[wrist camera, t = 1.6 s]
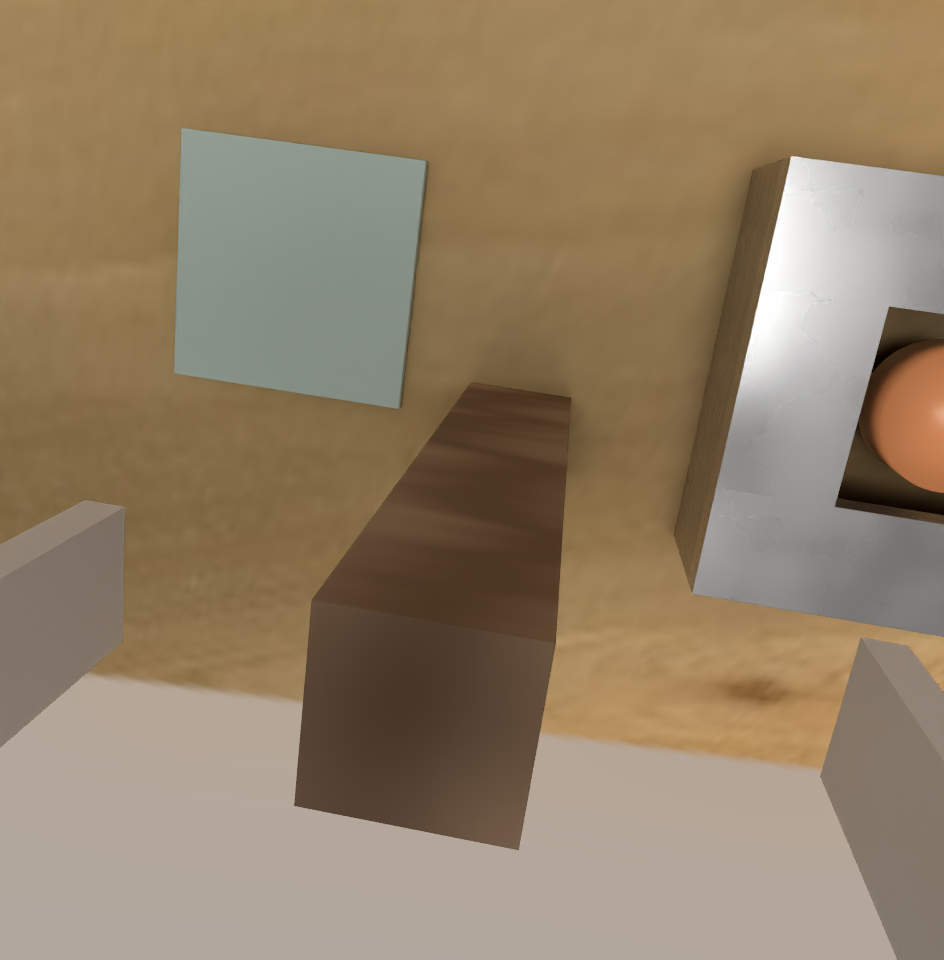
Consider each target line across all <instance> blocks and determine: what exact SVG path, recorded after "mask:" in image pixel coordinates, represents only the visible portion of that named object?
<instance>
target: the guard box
mask: <svg viewBox="0 0 944 960" xmlns="http://www.w3.org/2000/svg"><path fill="white" fill-rule="evenodd" d="M889 306H890V307H897V308H904V309H911V310H918V311H925V312H932V313H939V314H944V176H940V175H932V174H924V173H917V172H909V171H901V170H893V169H886V168H878V167H870V166H862V165H855V164H847V163H839V162H831V161H824V160H816V159H808V158H801V157H793V156H791V157H788V158H786V159H783V160H780V161H777V162H774V163H772V164H769V165H766V166H763V167H761V168H758V169H755V170H753V173H752V178H751V182H750V187H749V192H748V196H747V201H746V205H745V210H744V215H743V219H742V224H741V229H740V233H739V238H738V243H737V247H736V252H735V256H734V261H733V266H732V270H731V275H730V280H729V284H728V289H727V293H726V298H725V303H724V307H723V312H722V317H721V321H720V326H719V331H718V335H717V340H716V344H715V349H714V354H713V358H712V363H711V368H710V372H709V377H708V381H707V386H706V391H705V395H704V400H703V405H702V409H701V414H700V419H699V423H698V428H697V432H696V437H695V442H694V446H693V451H692V456H691V460H690V465H689V470H688V474H687V479H686V483H685V488H684V493H683V497H682V502H681V507H680V511H679V516H678V520H677V525H676V530H675V534H674V536H675V540H676V543H677V546H678V549H679V553H680V556H681V559H682V562H683V566H684V569H685V572H686V576H687V579H688V582H689V585H690V589H691V592H692V594H696V595H702V596H708V597H714V598H720V599H726V600H732V601H737V602H743V603H749V604H755V605H761V606H767V607H773V608H778V609H784V610H790V611H796V612H802V613H808V614H814V615H819V616H825V617H831V618H837V619H843V620H849V621H855V622H860V623H866V624H872V625H878V626H884V627H890V628H896V629H901V630H907V631H913V632H919V633H925V634H931V635H936V636H942V637H944V515H939V514H932V513H926V512H920V511H914V510H907V509H901V508H895V507H889V506H882V505H876V504H870V503H864V502H857V501H851V500H845V499H838V498H837V496H838V493H839V489H840V485H841V482H842V478H843V474H844V471H845V467H846V463H847V459H848V456H849V452H850V448H851V445H852V441H853V437H854V434H855V430H856V426H857V423H858V419H859V415H860V412H861V408H862V404H863V401H864V397H865V393H866V390H867V386H868V382H869V379H870V375H871V371H872V368H873V364H874V360H875V356H876V353H877V349H878V345H879V342H880V338H881V334H882V331H883V327H884V323H885V320H886V316H887V312H888V309H889Z"/></svg>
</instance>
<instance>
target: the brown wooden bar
mask: <svg viewBox="0 0 944 960" xmlns="http://www.w3.org/2000/svg"><path fill="white" fill-rule="evenodd" d="M570 404H571V398H568V397H562V396H555V395H549V394H542V393H536V392H529V391H523V390H516V389H510V388H503V387H497V386H490V385H484V384H477V383H471V384H470V385H469V386H468V388H467V389H466V390H465V392H464V393H463V394H462V396H461V397H460V399H459V400H458V401H457V403H456V404H455V405H454V407H453V408H452V410H451V411H450V412H449V414H448V415H447V416H446V418H445V419H444V420H443V422H442V423H441V425H440V426H439V427H438V429H437V430H436V431H435V433H434V434H433V435H432V437H431V438H430V440H429V441H428V442H427V444H426V445H425V446H424V448H423V449H422V450H421V452H420V453H419V455H418V456H417V457H416V459H415V460H414V461H413V463H412V464H411V465H410V467H409V468H408V470H407V471H406V472H405V474H404V475H403V476H402V478H401V479H400V480H399V482H398V483H397V485H396V486H395V487H394V489H393V490H392V491H391V493H390V494H389V495H388V497H387V498H386V500H385V501H384V502H383V504H382V505H381V506H380V508H379V509H378V510H377V512H376V513H375V515H374V516H373V517H372V519H371V520H370V521H369V523H368V524H367V525H366V527H365V528H364V530H363V531H362V532H361V534H360V535H359V536H358V538H357V539H356V540H355V542H354V543H353V545H352V546H351V547H350V549H349V550H348V551H347V553H346V554H345V555H344V557H343V558H342V560H341V561H340V562H339V564H338V565H337V566H336V568H335V569H334V570H333V572H332V573H331V575H330V576H329V577H328V579H327V580H326V581H325V583H324V584H323V585H322V587H321V588H320V590H319V591H318V592H317V594H316V595H315V596H314V598H313V599H312V604H311V616H310V628H309V639H308V651H307V663H306V675H305V686H304V698H303V710H302V722H301V734H300V745H299V757H298V769H297V781H296V793H295V804H294V806H298V807H303V808H308V809H314V810H319V811H323V812H329V813H333V814H338V815H343V816H349V817H354V818H359V819H364V820H369V821H374V822H379V823H384V824H389V825H394V826H400V827H404V828H409V829H415V830H420V831H425V832H430V833H435V834H440V835H445V836H450V837H455V838H460V839H465V840H470V841H475V842H480V843H485V844H491V845H495V846H500V847H506V848H511V849H516V850H519V845H520V839H521V834H522V828H523V822H524V816H525V811H526V806H527V800H528V795H529V789H530V783H531V778H532V772H533V767H534V761H535V756H536V750H537V744H538V739H539V733H540V728H541V722H542V717H543V711H544V705H545V700H546V694H547V689H548V683H549V678H550V672H551V666H552V661H553V655H554V650H555V644H556V630H557V614H558V598H559V581H560V565H561V549H562V533H563V517H564V501H565V485H566V469H567V452H568V436H569V420H570Z"/></svg>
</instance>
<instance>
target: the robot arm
mask: <svg viewBox="0 0 944 960" xmlns="http://www.w3.org/2000/svg"><path fill="white" fill-rule="evenodd" d="M124 530H125V507H123V506H118V505H112V504H106V503H101V502H95V501H89V500H84V501H82V502H80V503H78V504H76V505H74V506H73V507H71V508H69V509H67V510H65V511H63V512H61V513H59V514H57V515H55V516H53V517H51V518H49V519H47V520H46V521H44V522H42V523H40V524H38V525H36V526H34V527H32V528H30V529H28V530H26V531H24V532H22V533H20V534H19V535H17V536H15V537H13V538H11V539H9V540H7V541H5V542H3V543H1V544H0V747H1V746H2V745H3V744H5V743H6V742H7V741H8V740H9V739H11V737H13V736H14V735H15V734H16V733H17V732H19V731H20V730H21V729H22V728H23V727H24V726H26V725H27V724H28V723H29V722H30V721H31V720H33V719H34V718H35V717H36V716H37V715H38V714H40V713H41V712H42V711H43V710H44V709H45V708H46V707H48V706H49V705H50V704H51V703H52V702H53V701H55V700H56V699H57V698H58V697H59V696H60V695H61V694H63V693H64V692H65V691H66V690H67V689H69V688H70V687H71V686H72V685H73V684H74V683H75V682H77V681H78V680H79V679H80V678H81V677H82V676H84V675H85V674H86V673H87V672H88V671H89V670H91V669H92V668H93V667H94V666H95V665H96V664H98V663H99V662H100V661H101V660H102V659H103V658H105V657H106V656H107V655H108V654H109V653H110V652H111V651H113V650H114V649H115V648H116V647H117V646H118V645H120V644H121V643H122V642H123V594H124ZM820 777H821V779H822V781H823V784H824V786H825V788H826V791H827V794H828V796H829V798H830V801H831V803H832V805H833V808H834V810H835V812H836V815H837V817H838V820H839V822H840V824H841V827H842V829H843V832H844V834H845V836H846V839H847V841H848V843H849V846H850V848H851V850H852V853H853V855H854V858H855V860H856V863H857V865H858V867H859V870H860V872H861V874H862V877H863V879H864V882H865V884H866V886H867V889H868V891H869V893H870V896H871V898H872V901H873V903H874V905H875V908H876V910H877V912H878V915H879V917H880V920H881V922H882V924H883V927H884V929H885V931H886V934H887V936H888V939H889V941H890V943H891V946H892V948H893V951H894V953H895V955H896V958H897V960H944V692H943V691H942V689H941V688H940V687H939V686H938V684H937V683H936V682H935V680H934V679H933V678H932V676H931V675H930V674H929V673H928V671H927V670H926V669H925V667H924V666H923V665H922V663H921V662H920V661H919V660H918V658H917V657H916V656H915V654H914V653H913V652H912V650H911V649H910V648H909V647H908V646H906V645H901V644H895V643H890V642H884V641H878V640H873V639H867V638H861V640H860V643H859V646H858V650H857V653H856V657H855V660H854V663H853V667H852V670H851V674H850V677H849V680H848V684H847V687H846V691H845V694H844V697H843V701H842V704H841V708H840V711H839V714H838V718H837V721H836V725H835V728H834V731H833V735H832V738H831V742H830V745H829V748H828V752H827V755H826V759H825V762H824V765H823V769H822V772H821V776H820Z"/></svg>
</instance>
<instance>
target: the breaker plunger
mask: <svg viewBox="0 0 944 960" xmlns="http://www.w3.org/2000/svg"><path fill="white" fill-rule="evenodd" d="M859 426H860V431H861V433H862V436H863V439H864V441H865V442H866V444H867V446H868V447H869V449H870V450H871V451H872V452H873V454H875V455H876V456H877V457H878V458H879V459H880V460H881V461H883V462H884V463H885V464H887V465H888V466H889V467H890V468H892V469H893V470H894V471H896V472H897V473H898V474H900V475H901V476H902V477H904V478H905V479H906V480H908V481H909V482H911V483H913V484H914V485H916V486H918V487H921V488H924V489H926V490H930V491H934V492H940V493H944V339H930V340H924V341H920V342H916V343H913V344H910V345H908V346H905V347H903V348H901V349H899V350H898V351H896V352H894V353H893V354H891V355H890V356H889V357H887V358H886V359H885V360H884V361H883V362H882V363H881V364H880V365H879V366H878V367H877V368H876V369H875V370H874V371H873V373H872V374H871V376H870V379H869V382H868V386H867V390H866V393H865V397H864V401H863V404H862V408H861V412H860V415H859Z"/></svg>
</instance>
